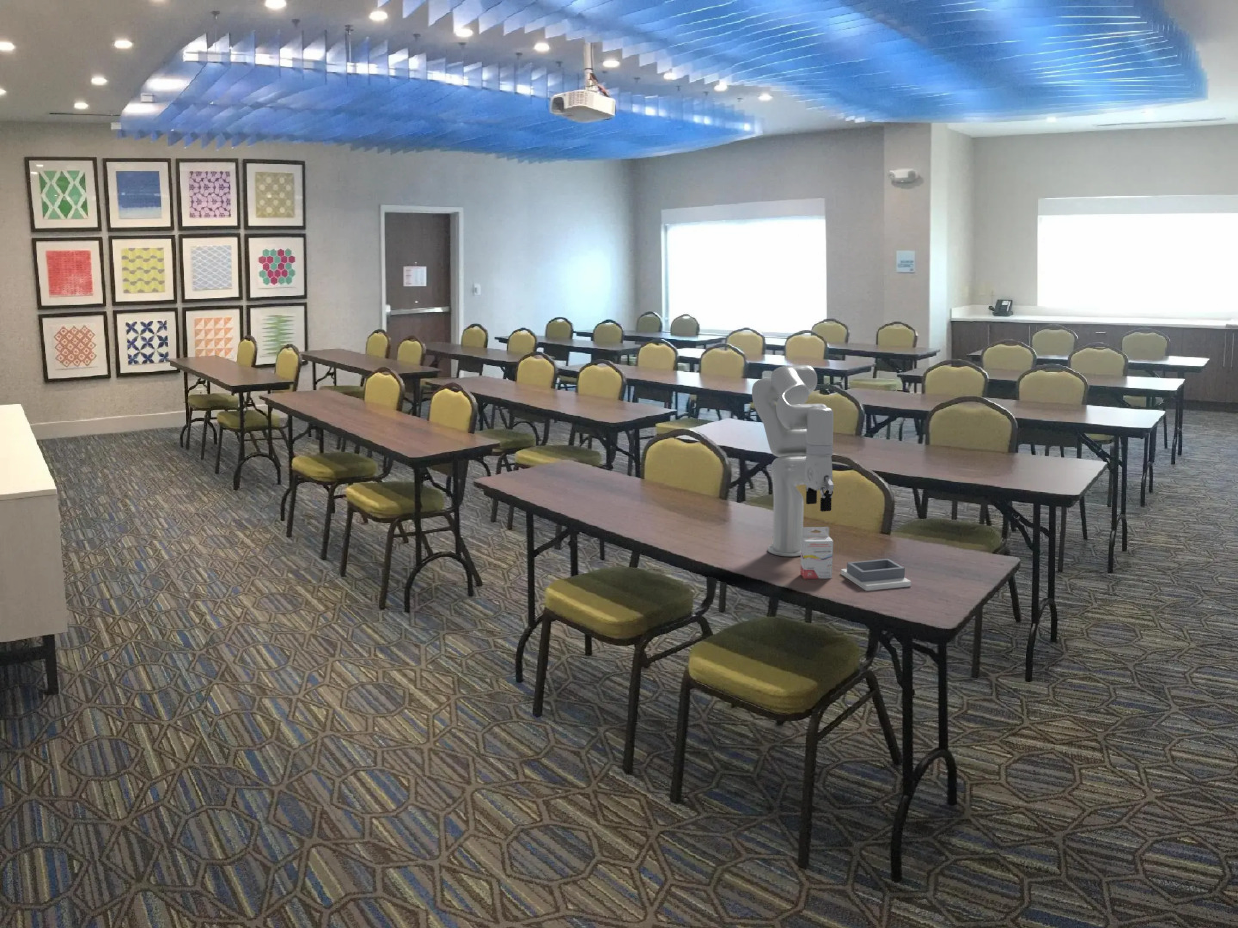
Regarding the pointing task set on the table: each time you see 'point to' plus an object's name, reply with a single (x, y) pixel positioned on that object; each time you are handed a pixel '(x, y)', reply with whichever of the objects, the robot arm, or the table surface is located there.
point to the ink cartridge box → (816, 553)
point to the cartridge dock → (876, 574)
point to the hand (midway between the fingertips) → (818, 507)
